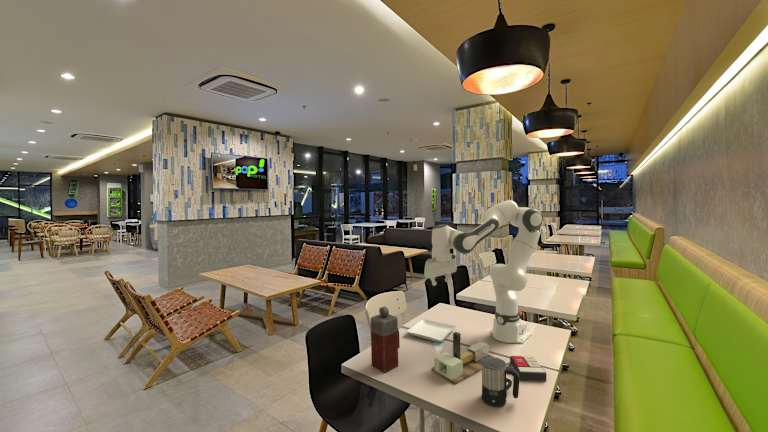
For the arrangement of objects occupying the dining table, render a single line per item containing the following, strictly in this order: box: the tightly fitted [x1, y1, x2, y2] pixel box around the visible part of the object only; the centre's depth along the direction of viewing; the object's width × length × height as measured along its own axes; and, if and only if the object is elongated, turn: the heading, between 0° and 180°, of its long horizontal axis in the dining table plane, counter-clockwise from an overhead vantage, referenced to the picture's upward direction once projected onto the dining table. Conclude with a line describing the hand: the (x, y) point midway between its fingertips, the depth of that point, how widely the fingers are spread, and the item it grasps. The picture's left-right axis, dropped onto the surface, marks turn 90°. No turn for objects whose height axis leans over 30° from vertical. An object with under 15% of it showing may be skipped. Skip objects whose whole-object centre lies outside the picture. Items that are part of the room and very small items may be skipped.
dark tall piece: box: [445, 331, 475, 369], centre depth 148 cm, size 18×3×14 cm, turn 127°
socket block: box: [434, 351, 463, 380], centre depth 143 cm, size 7×10×6 cm
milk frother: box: [480, 356, 521, 408], centre depth 129 cm, size 14×16×15 cm
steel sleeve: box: [466, 341, 491, 363], centre depth 156 cm, size 10×6×5 cm, turn 127°
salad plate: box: [406, 318, 456, 343], centre depth 185 cm, size 21×21×3 cm
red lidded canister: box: [370, 305, 401, 374], centre depth 151 cm, size 9×11×28 cm
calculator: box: [509, 355, 547, 382], centre depth 145 cm, size 11×4×15 cm
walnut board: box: [431, 355, 494, 386], centre depth 151 cm, size 30×14×1 cm, turn 127°
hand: (440, 283), depth 167 cm, fingers open, 8 cm apart
